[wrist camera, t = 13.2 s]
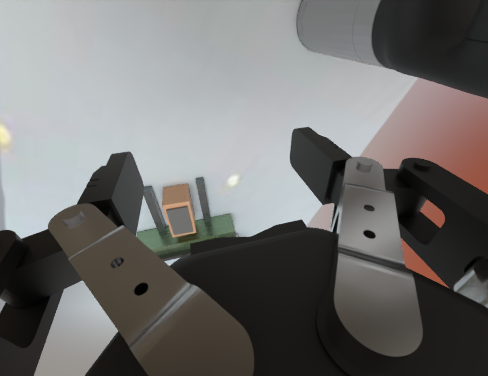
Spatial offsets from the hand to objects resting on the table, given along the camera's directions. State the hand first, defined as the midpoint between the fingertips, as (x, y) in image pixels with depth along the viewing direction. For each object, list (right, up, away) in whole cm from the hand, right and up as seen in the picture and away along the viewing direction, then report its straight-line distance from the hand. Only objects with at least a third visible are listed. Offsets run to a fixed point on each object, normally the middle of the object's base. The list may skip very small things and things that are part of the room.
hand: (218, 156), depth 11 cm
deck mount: (-13, -7, +40) cm, 42 cm away
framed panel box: (-13, -5, +38) cm, 41 cm away
